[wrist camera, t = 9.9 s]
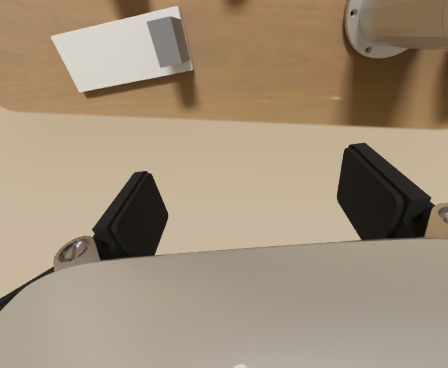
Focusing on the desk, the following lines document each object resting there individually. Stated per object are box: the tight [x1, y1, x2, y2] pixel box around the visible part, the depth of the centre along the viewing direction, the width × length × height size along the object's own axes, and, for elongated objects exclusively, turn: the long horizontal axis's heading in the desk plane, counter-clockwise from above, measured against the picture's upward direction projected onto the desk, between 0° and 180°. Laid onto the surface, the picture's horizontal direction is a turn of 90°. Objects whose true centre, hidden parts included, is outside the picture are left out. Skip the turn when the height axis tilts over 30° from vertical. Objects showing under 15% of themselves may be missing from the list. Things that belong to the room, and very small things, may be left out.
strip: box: [51, 6, 194, 92], centre depth 31 cm, size 20×8×7 cm, turn 100°
